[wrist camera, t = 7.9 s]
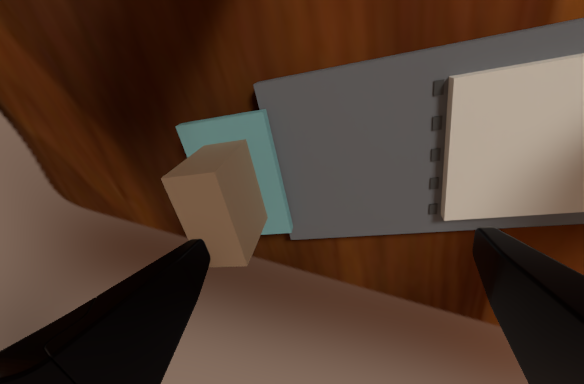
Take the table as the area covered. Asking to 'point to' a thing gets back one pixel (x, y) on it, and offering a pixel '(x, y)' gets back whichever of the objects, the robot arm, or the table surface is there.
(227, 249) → the stub
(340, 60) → the table surface
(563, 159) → the board
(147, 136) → the table surface
